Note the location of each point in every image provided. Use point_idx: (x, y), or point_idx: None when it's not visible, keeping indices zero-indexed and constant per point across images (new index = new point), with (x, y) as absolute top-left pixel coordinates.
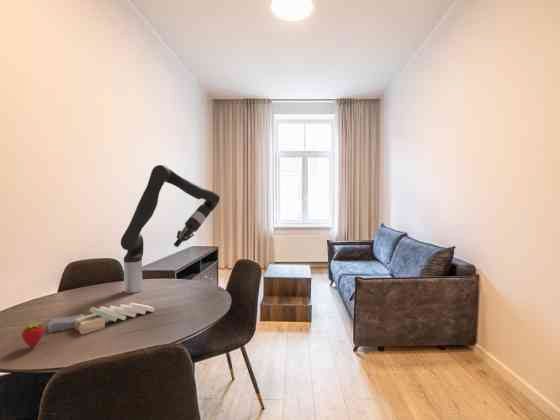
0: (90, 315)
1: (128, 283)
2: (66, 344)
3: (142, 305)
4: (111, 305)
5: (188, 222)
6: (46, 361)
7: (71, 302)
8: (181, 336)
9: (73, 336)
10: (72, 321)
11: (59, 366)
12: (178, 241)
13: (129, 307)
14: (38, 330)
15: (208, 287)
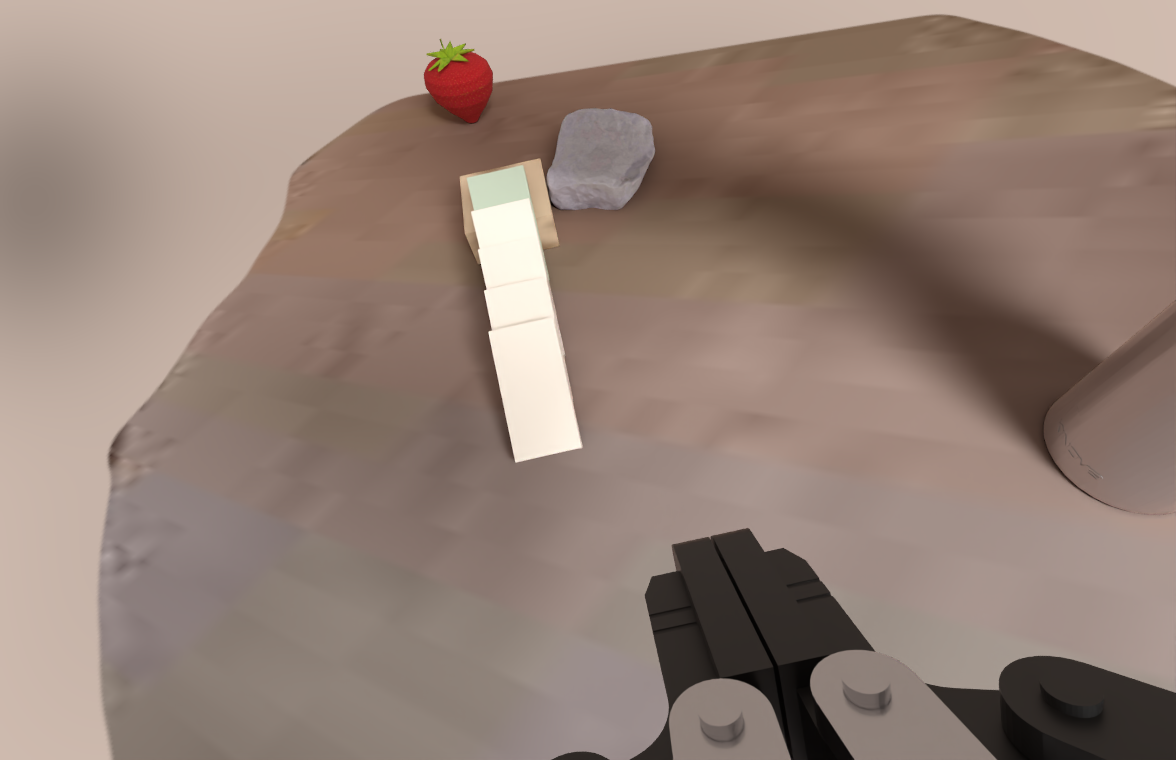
0: (541, 195)
1: (1098, 366)
2: (423, 179)
3: (524, 385)
4: (535, 238)
5: None
6: (349, 154)
7: (965, 162)
8: (124, 485)
9: None
10: (553, 161)
11: (291, 177)
12: (698, 644)
13: (488, 312)
14: (428, 78)
15: None
